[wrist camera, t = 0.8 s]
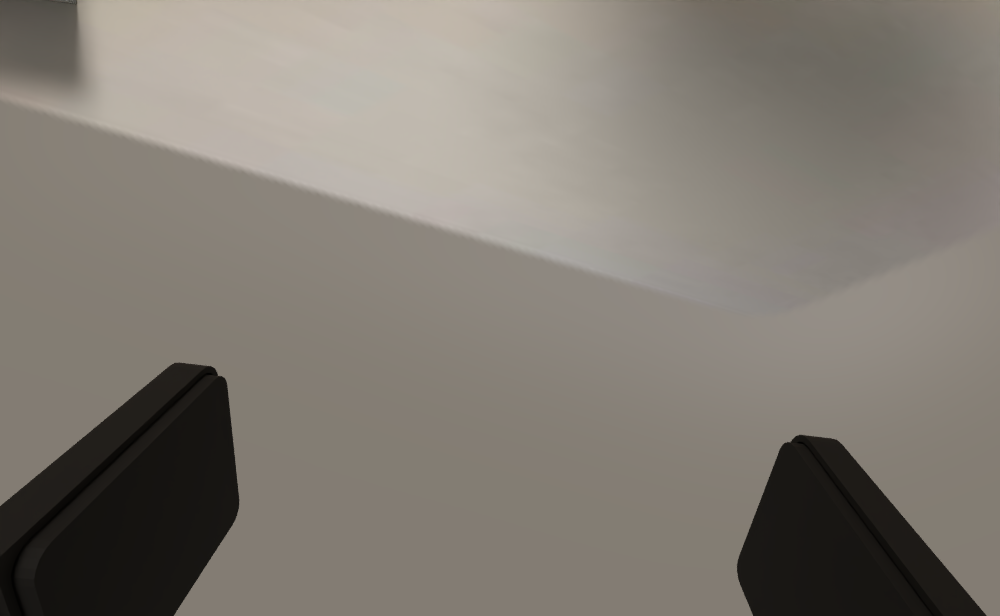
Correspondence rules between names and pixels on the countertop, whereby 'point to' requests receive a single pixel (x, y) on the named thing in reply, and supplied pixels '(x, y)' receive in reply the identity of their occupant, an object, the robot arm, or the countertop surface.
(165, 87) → the countertop surface
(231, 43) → the countertop surface
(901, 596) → the robot arm
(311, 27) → the countertop surface
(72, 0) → the housing
